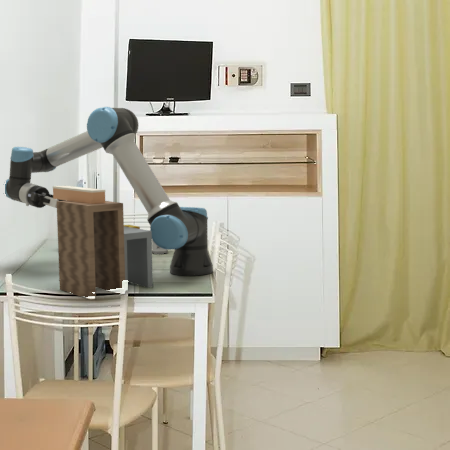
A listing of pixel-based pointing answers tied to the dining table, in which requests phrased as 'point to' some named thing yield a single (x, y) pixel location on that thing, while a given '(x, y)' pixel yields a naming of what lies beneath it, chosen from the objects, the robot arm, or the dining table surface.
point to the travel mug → (158, 249)
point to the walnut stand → (90, 246)
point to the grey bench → (138, 256)
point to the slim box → (79, 194)
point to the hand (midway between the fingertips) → (72, 207)
